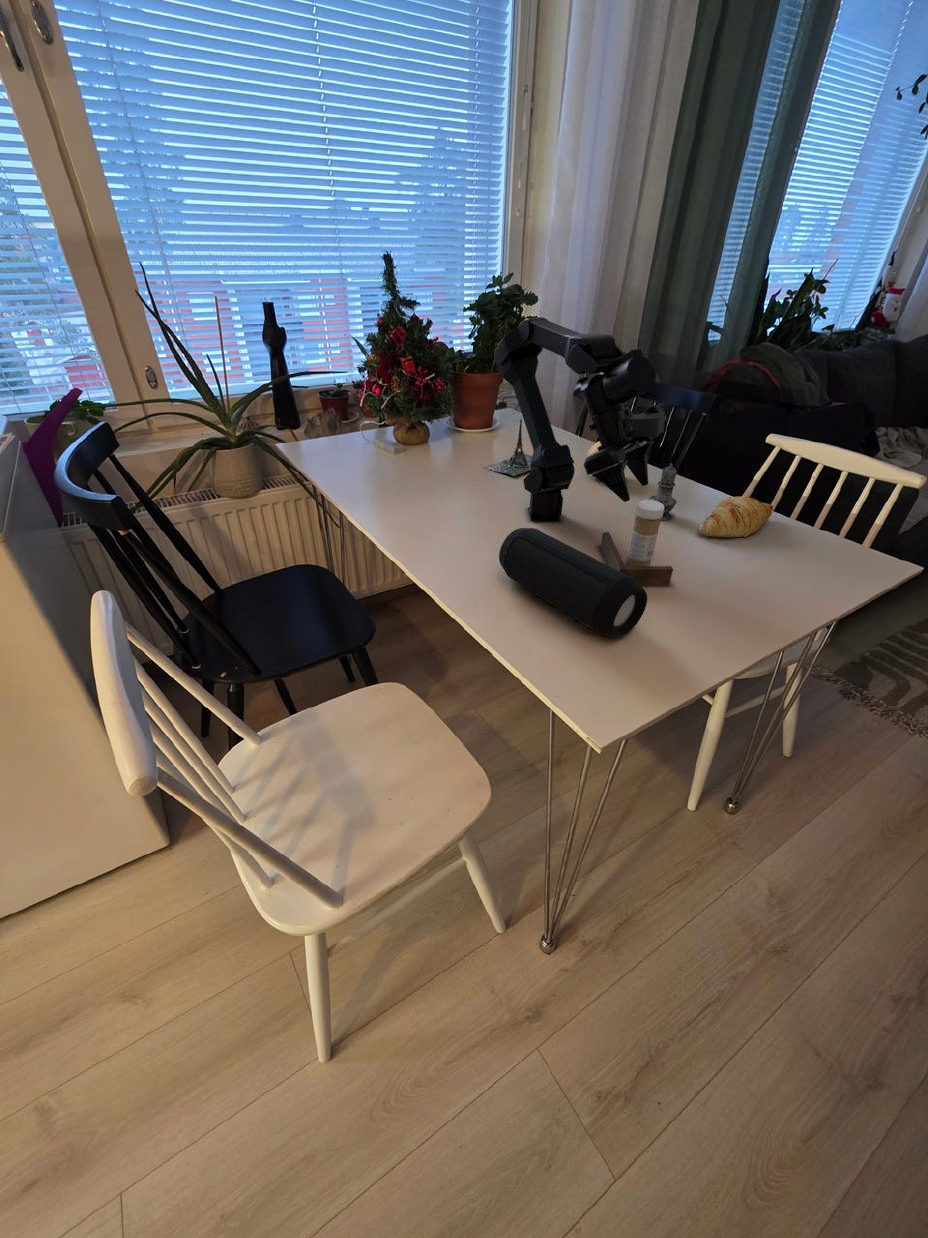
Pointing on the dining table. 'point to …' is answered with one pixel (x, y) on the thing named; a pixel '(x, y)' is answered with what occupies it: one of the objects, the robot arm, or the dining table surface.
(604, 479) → the robot arm
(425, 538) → the dining table surface
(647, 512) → the sprinkles bottle
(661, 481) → the grey stone chess piece
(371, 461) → the dining table surface
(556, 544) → the portable speaker
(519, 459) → the eiffel tower figurine
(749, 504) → the croissant
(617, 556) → the corner fence
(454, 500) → the dining table surface
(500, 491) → the dining table surface
